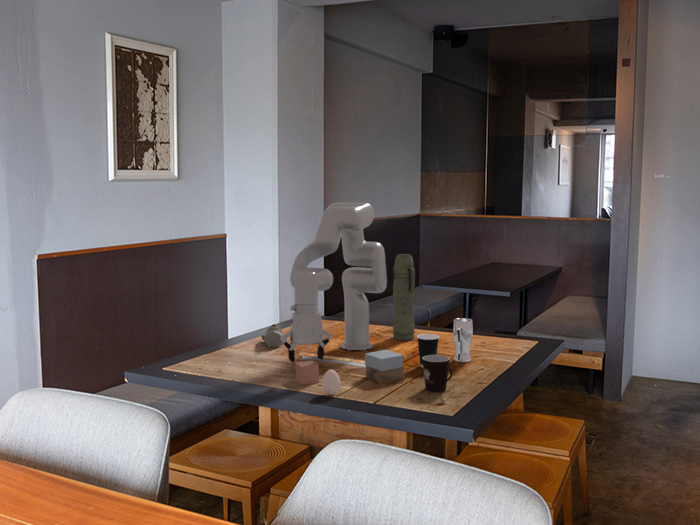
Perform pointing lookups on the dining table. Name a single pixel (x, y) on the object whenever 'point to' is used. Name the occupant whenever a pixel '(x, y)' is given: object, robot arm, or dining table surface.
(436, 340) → the dixie cup
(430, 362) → the coffee mug
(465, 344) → the beer glass
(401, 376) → the walnut block
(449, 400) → the dining table surface
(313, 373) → the rust cube
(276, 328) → the ceramic sculpture
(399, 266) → the thermos
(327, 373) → the egg
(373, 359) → the slate block
